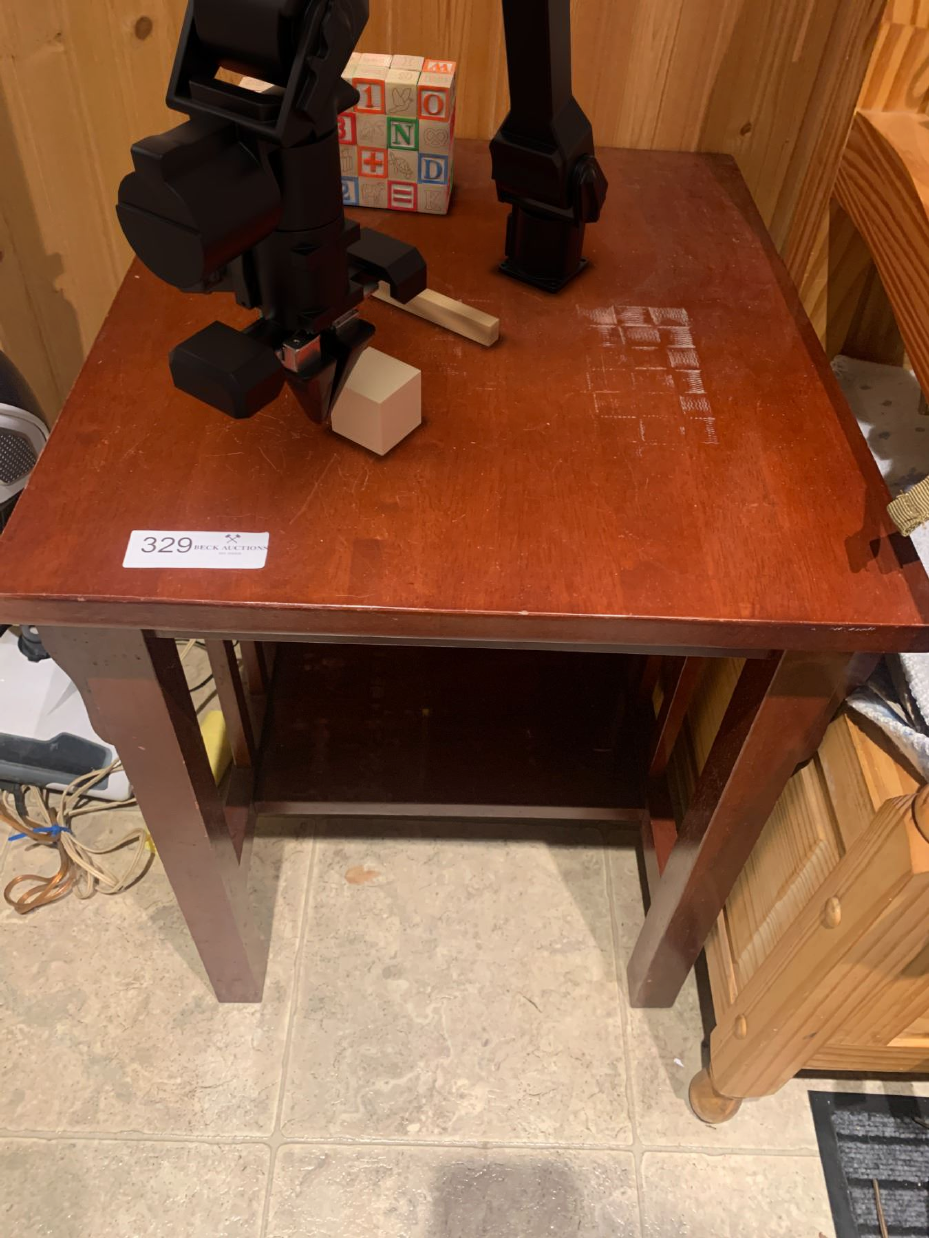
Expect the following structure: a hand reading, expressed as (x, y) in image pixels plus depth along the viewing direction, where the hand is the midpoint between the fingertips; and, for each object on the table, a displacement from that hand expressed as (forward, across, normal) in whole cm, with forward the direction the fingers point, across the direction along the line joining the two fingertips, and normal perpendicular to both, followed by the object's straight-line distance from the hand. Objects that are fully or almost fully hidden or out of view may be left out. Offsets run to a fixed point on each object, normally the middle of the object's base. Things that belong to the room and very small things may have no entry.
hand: (318, 420), depth 65 cm
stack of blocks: (+5, -34, -26) cm, 43 cm away
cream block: (+5, -6, 0) cm, 8 cm away
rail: (+5, -21, -8) cm, 23 cm away
